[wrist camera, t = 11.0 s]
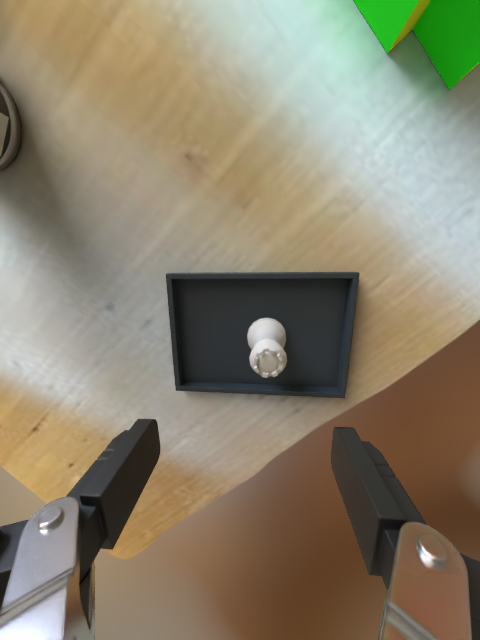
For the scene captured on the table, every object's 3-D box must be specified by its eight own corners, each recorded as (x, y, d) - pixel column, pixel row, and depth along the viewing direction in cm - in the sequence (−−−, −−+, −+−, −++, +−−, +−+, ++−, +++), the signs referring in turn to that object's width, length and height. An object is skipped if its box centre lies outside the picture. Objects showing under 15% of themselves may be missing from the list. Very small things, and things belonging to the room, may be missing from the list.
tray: (172, 273, 26) (165, 273, 24) (352, 272, 24) (359, 272, 22) (180, 382, 30) (175, 390, 28) (339, 389, 28) (345, 398, 26)
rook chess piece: (278, 311, 26) (285, 331, 18) (290, 346, 26) (302, 380, 19) (242, 323, 26) (233, 348, 19) (254, 357, 27) (252, 394, 19)
